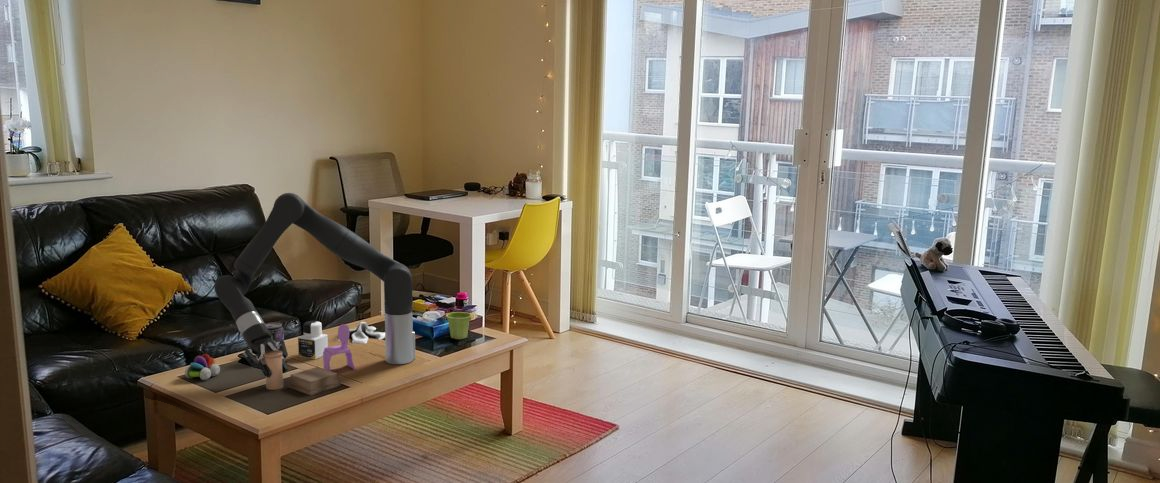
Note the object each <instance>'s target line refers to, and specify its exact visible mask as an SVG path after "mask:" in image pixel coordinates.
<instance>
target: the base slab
mask: <svg viewBox="0 0 1160 483" xmlns="http://www.w3.org/2000/svg"><path fill="white" fill-rule="evenodd" d="M289 377H290V383H289V384H288V385H287V388H290V389H291V390H292V389H293V390H295V391H297V392H301V393H302V394H304V395H305V394H306V395H308V396H312V395H317V394H319V393H322V392H325V391H328V390H331V389H334V388H338V387H340V386H342V385H341V383H342V382H339V379H338V373H337V372H335V371H332V370H331V371H329V370H326V369H324V368H322V367H319V366H315V367H312V368H309V369H305V370H301V371H299V372H296V373H292V374H290V376H289Z"/></svg>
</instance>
